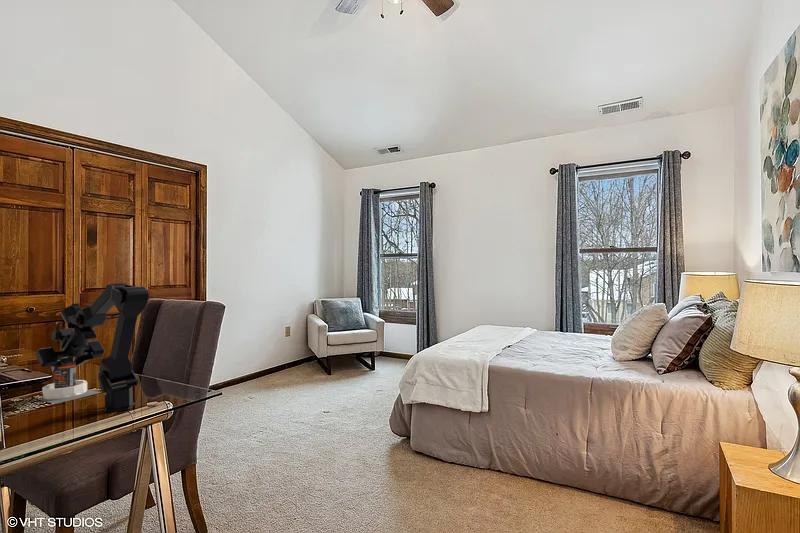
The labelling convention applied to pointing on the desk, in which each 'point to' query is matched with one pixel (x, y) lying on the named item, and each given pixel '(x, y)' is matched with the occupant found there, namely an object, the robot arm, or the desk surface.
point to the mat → (89, 392)
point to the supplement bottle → (65, 374)
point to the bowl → (64, 391)
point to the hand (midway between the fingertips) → (63, 368)
